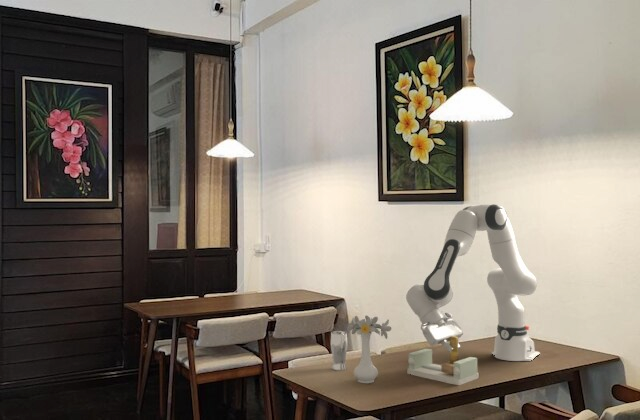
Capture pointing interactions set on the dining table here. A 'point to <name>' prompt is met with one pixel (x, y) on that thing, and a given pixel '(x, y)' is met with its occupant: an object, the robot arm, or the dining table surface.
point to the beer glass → (339, 350)
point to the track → (424, 368)
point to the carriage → (451, 357)
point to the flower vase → (367, 346)
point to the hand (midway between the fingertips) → (455, 349)
